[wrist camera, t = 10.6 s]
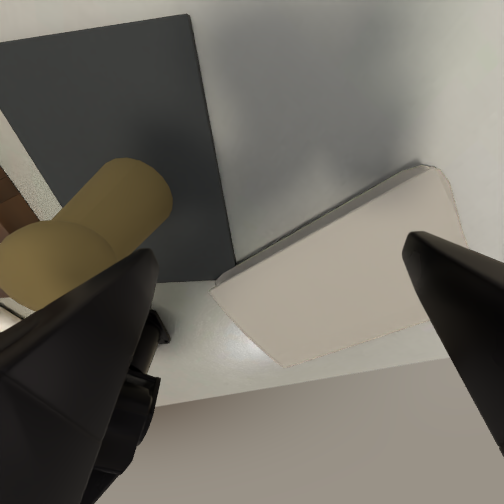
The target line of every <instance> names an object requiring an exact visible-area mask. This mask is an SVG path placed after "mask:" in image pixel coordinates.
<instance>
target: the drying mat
mask: <svg viewBox="0 0 504 504" xmlns="http://www.w3.org/2000/svg"><path fill="white" fill-rule="evenodd" d="M0 109H1V111H2V113H3V114H4V116H5V117H6V119H7V121H8V122H9V124H10V125H11V127H12V128H13V130H14V132H15V133H16V135H17V136H18V138H19V140H20V141H21V143H22V144H23V146H24V148H25V149H26V151H27V152H28V154H29V156H30V157H31V159H32V160H33V162H34V163H35V165H36V167H37V168H38V170H39V171H40V173H41V175H42V176H43V178H44V179H45V181H46V183H47V184H48V186H49V187H50V189H51V191H52V192H53V194H54V195H55V197H56V198H57V200H58V202H59V203H60V205H61V206H62V208H63V207H64V206H65V205H66V204H67V203H68V202H69V201H70V200H71V199H72V198H73V197H74V196H75V195H76V194H77V193H78V192H79V191H80V189H81V188H82V187H83V186H84V185H85V184H86V183H87V182H88V181H89V180H90V179H91V178H92V177H93V176H94V175H95V174H96V173H97V172H98V171H99V170H100V169H101V167H102V166H103V165H104V164H105V163H107V162H109V161H111V160H113V159H115V158H131V159H135V160H140V161H142V162H144V163H145V164H147V165H149V166H151V167H153V168H154V169H155V170H156V171H157V172H158V173H159V174H160V175H161V176H162V177H163V178H164V180H165V181H166V183H167V184H168V186H169V188H170V191H171V194H172V198H173V205H172V210H171V213H170V215H169V217H168V218H167V219H166V220H165V221H164V222H163V223H162V224H161V225H160V226H159V227H158V228H157V229H156V230H155V231H154V232H153V233H152V234H151V235H150V236H149V237H148V238H147V239H145V240H144V241H143V242H142V243H141V244H140V245H139V246H138V247H137V248H136V249H135V250H134V251H133V252H135V251H136V250H138V249H143V248H150V249H151V250H152V251H153V253H154V255H155V258H156V260H157V262H158V264H159V274H158V279H157V283H166V282H186V281H206V280H217V279H218V278H219V277H220V276H221V275H222V274H223V273H225V272H226V271H228V270H230V269H232V268H233V267H235V266H236V261H235V256H234V250H233V245H232V239H231V234H230V229H229V223H228V218H227V213H226V207H225V202H224V196H223V191H222V186H221V180H220V175H219V170H218V164H217V159H216V153H215V148H214V143H213V137H212V132H211V127H210V121H209V116H208V110H207V105H206V100H205V94H204V89H203V84H202V78H201V73H200V67H199V62H198V57H197V51H196V46H195V40H194V35H193V30H192V24H191V19H190V15H188V14H181V15H175V16H169V17H162V18H156V19H149V20H143V21H136V22H130V23H123V24H117V25H110V26H104V27H97V28H91V29H84V30H78V31H72V32H65V33H59V34H52V35H46V36H39V37H33V38H26V39H20V40H13V41H7V42H0ZM133 252H132V253H133Z"/></svg>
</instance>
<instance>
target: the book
mask: <svg viewBox="0 0 504 504" xmlns="http://www.w3.org/2000/svg"><path fill="white" fill-rule="evenodd" d="M412 231H425V232H428V233H430V234H433V235H435V236H438V237H440V238H443V239H445V240H448V241H450V242H453V243H455V244H458V245H460V246H463V247H465V248H468V249H469V247H468V244H467V242H466V239H465V236H464V234H463V231H462V227H461V223H460V220H459V216H458V212H457V208H456V204H455V201H454V197H453V193H452V189H451V185H450V182H449V181H448V180H447V178H446V177H445V175H444V174H443V173H442V171H441V170H440V169H437V168H435V167H433V166H432V167H428V166H424V165H420V166H417V167H414V168H411V169H407V170H404V171H401V172H399V173H398V174H396V175H394V176H392V177H391V178H389V179H387V180H385V181H384V182H382V183H380V184H378V185H377V186H375V187H373V188H371V189H370V190H368V191H366V192H364V193H363V194H361V195H359V196H357V197H356V198H354V199H352V200H350V201H349V202H347V203H345V204H343V205H342V206H340V207H338V208H336V209H335V210H333V211H331V212H329V213H328V214H326V215H324V216H322V217H321V218H319V219H317V220H315V221H314V222H312V223H310V224H308V225H307V226H305V227H303V228H301V229H300V230H298V231H296V232H294V233H293V234H291V235H289V236H287V237H286V238H284V239H282V240H280V241H279V242H277V243H275V244H273V245H272V246H270V247H268V248H267V249H265V250H263V251H261V252H260V253H258V254H256V255H254V256H253V257H251V258H249V259H247V260H246V261H244V262H242V263H240V264H239V265H237V266H235V267H233V268H232V269H230V270H228V271H226V272H225V273H223V274H222V275H221V276H220V277H219V278H218V279H217V280H216V281H215V287H213V288H212V289H210V290H209V291H208V292H209V293H210V294H211V296H212V297H213V298H214V299H215V301H216V302H217V303H218V304H219V306H220V307H221V308H222V310H223V311H224V312H225V313H226V315H227V316H228V317H229V318H230V319H231V320H232V321H233V322H234V323H235V324H236V325H237V326H238V327H239V328H240V330H241V331H242V332H243V333H244V334H245V335H246V336H247V337H248V338H250V339H251V340H252V341H253V342H254V343H255V344H256V345H257V346H258V347H259V348H260V349H261V350H262V351H263V352H265V353H266V354H267V355H268V356H269V357H270V358H271V359H273V360H274V361H275V362H276V363H278V364H279V365H280V366H282V367H283V368H284V369H285V368H288V367H291V366H294V365H297V364H300V363H303V362H306V361H309V360H312V359H315V358H318V357H321V356H324V355H327V354H330V353H333V352H336V351H339V350H342V349H345V348H348V347H351V346H354V345H357V344H360V343H363V342H366V341H369V340H372V339H375V338H378V337H381V336H384V335H387V334H390V333H393V332H396V331H399V330H402V329H405V328H408V327H411V326H414V325H417V324H420V323H423V322H426V321H429V320H430V319H429V317H428V315H427V313H426V312H425V310H424V308H423V306H422V304H421V302H420V300H419V298H418V296H417V294H416V292H415V290H414V287H413V285H412V282H411V279H410V277H409V274H408V272H407V269H406V267H405V264H404V262H403V259H402V249H403V246H404V243H405V240H406V237H407V235H408V233H410V232H412Z"/></svg>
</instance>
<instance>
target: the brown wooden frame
mask: <svg viewBox="0 0 504 504" xmlns="http://www.w3.org/2000/svg"><path fill="white" fill-rule="evenodd" d="M38 221H39V220H38V218H37V217H36V215H35V214H34V213H33V211H32V210H31V208H30V207H29V206H28V204H27V203H26V201H25V200H24V199H23V197H22V196H21V194H19V192H18V190H17V189H16V187H15V186H14V185H13V183H12V182H11V180H10V179H9V178H8V177H7V175H6V174H5V172H4V171H3V169H2V168H1V167H0V244H1V243H2V241H3V240H4V239H5V238H6V237H7V236H8V235H10V234H11V233H13V232H15V231H16V230H18V229H20V228H22V227H24V226H27V225H29V224H32V223H35V222H38ZM6 297H9V296H8V295H7V294H6V293H5V292H4V291H3V290H2V289H1V288H0V298H6Z"/></svg>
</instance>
